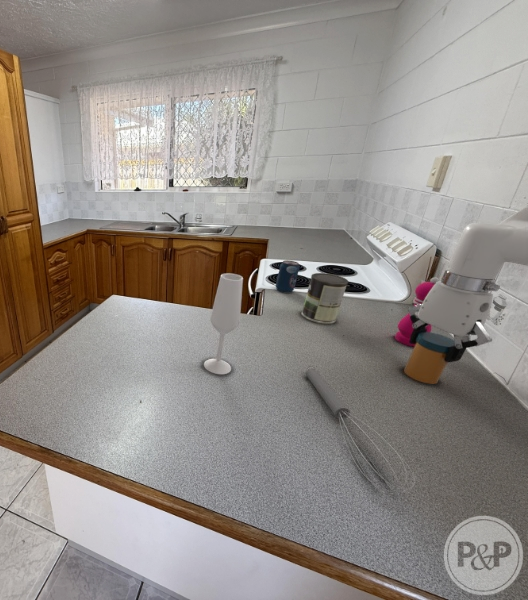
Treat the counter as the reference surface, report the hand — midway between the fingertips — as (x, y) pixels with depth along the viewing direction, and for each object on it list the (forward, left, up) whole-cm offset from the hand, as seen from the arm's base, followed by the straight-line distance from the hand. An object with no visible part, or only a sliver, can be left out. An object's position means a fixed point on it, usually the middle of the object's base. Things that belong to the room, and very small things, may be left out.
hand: (432, 351), depth 74 cm
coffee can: (+17, -28, -7) cm, 34 cm away
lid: (0, 0, +3) cm, 3 cm away
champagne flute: (+48, +13, -7) cm, 50 cm away
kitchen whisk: (+24, +25, -7) cm, 35 cm away
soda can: (+25, -51, -7) cm, 57 cm away
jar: (0, 0, -7) cm, 7 cm away
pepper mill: (-5, -19, -7) cm, 21 cm away
